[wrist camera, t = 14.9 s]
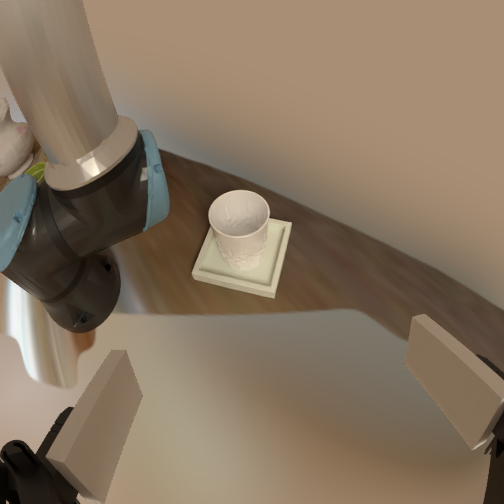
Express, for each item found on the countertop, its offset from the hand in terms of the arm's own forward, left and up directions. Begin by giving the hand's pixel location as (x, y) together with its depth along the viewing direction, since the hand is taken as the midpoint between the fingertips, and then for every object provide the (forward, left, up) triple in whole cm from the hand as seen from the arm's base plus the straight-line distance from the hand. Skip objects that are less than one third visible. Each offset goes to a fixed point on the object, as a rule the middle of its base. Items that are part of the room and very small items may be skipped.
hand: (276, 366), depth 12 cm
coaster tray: (-8, +20, -27) cm, 34 cm away
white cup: (-9, +20, -26) cm, 34 cm away
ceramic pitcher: (-87, +33, -27) cm, 97 cm away
